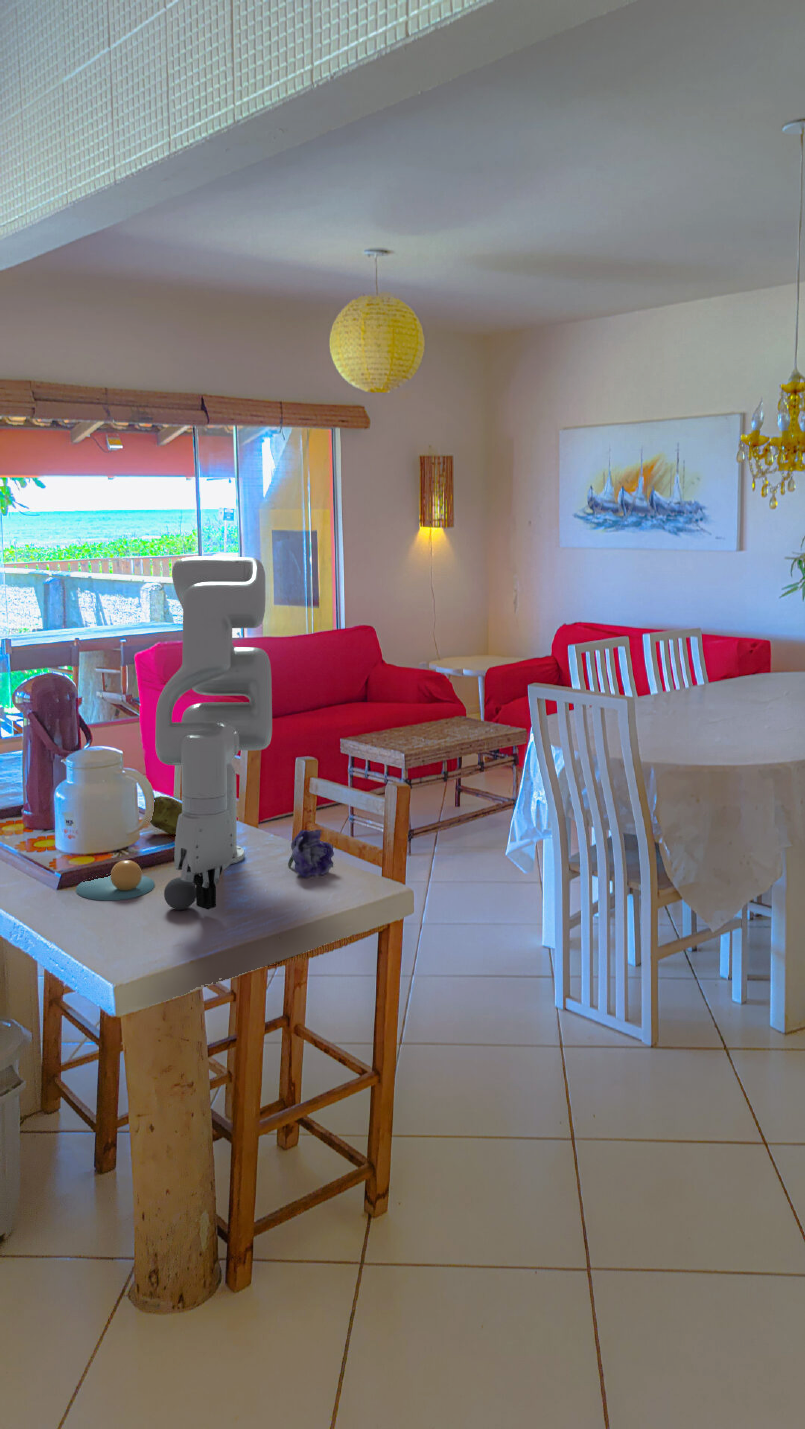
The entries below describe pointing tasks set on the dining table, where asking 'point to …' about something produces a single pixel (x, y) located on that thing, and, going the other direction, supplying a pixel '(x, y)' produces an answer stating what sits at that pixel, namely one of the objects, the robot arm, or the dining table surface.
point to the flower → (311, 854)
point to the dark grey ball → (180, 894)
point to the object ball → (126, 875)
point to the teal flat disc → (112, 889)
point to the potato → (166, 814)
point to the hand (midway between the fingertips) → (206, 906)
